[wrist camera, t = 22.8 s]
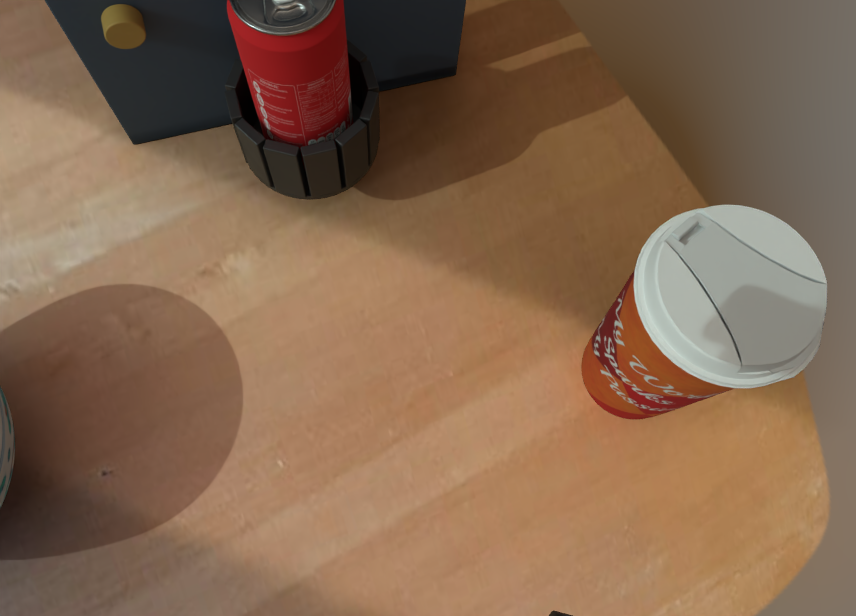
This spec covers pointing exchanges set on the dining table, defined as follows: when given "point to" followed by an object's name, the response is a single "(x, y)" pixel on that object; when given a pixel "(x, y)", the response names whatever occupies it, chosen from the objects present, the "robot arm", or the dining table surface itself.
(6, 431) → the chinaware
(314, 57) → the beverage can
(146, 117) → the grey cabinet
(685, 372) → the coffee cup
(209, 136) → the dining table surface
